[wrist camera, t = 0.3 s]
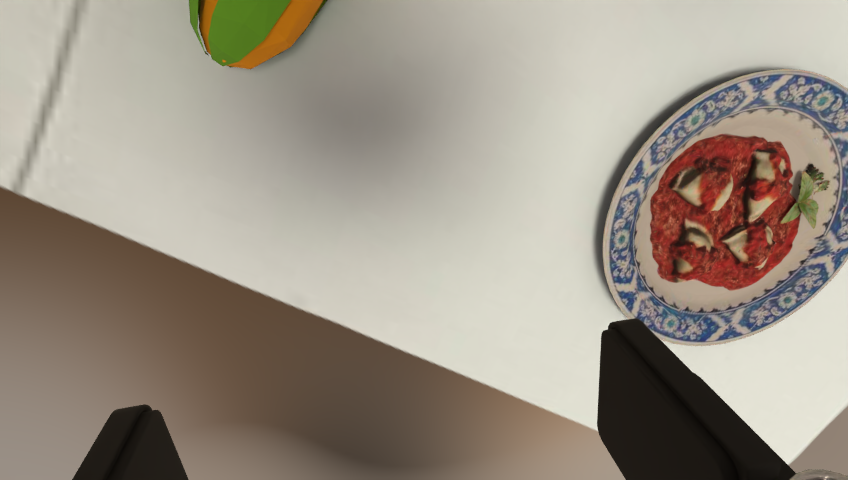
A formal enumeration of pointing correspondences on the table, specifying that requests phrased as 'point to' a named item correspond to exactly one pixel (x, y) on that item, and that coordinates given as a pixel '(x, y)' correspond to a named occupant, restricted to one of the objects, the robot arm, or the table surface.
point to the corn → (250, 27)
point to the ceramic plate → (733, 209)
